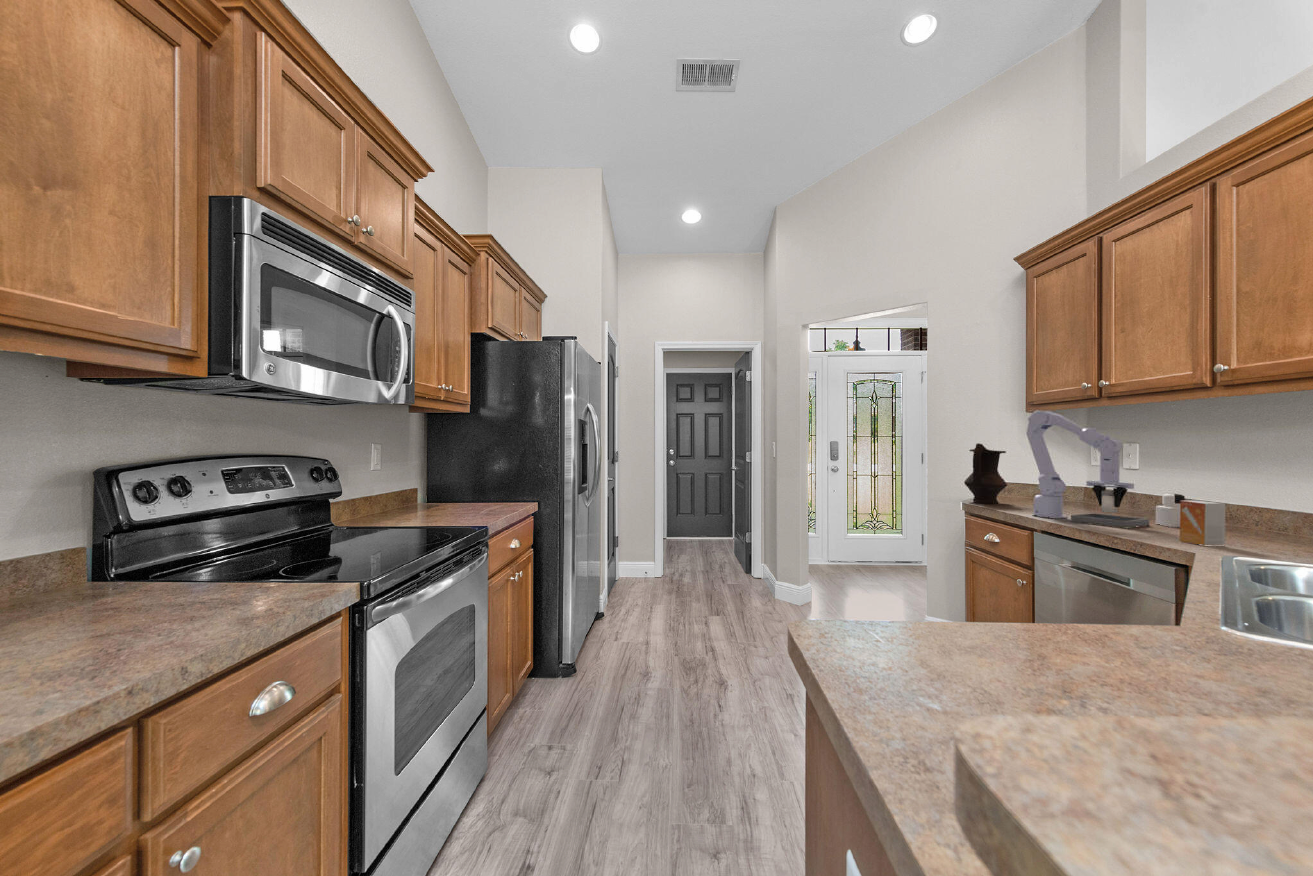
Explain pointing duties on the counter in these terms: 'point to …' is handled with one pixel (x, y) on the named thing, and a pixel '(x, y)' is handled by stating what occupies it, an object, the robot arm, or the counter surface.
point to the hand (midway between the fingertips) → (1109, 506)
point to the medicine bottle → (1169, 510)
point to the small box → (1202, 522)
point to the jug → (985, 475)
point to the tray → (1110, 520)
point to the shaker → (1108, 501)
